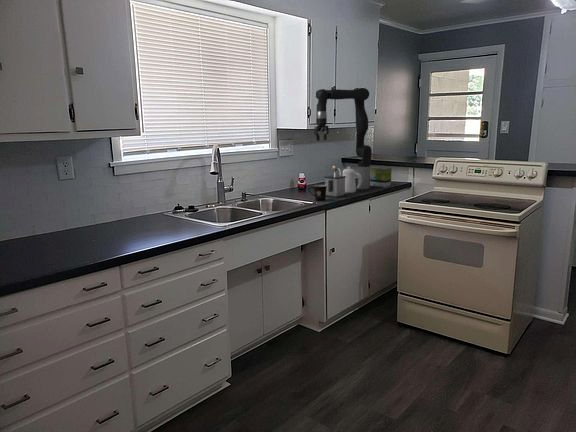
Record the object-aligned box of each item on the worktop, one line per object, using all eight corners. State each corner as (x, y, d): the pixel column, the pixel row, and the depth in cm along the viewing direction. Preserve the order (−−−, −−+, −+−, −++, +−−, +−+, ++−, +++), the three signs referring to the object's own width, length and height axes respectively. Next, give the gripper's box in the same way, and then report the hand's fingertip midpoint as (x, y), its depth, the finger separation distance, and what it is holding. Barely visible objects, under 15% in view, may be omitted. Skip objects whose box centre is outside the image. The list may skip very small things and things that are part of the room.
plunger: (333, 192, 314) (333, 165, 309) (342, 193, 309) (342, 165, 304) (327, 193, 308) (327, 166, 304) (336, 194, 303) (336, 166, 299)
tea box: (368, 185, 354) (368, 167, 351) (374, 184, 361) (375, 166, 358) (385, 187, 344) (385, 168, 341) (391, 185, 352) (392, 167, 348)
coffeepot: (340, 189, 339) (340, 165, 335) (365, 192, 320) (366, 167, 316) (330, 190, 332) (330, 166, 328) (356, 194, 313) (356, 168, 309)
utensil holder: (333, 194, 316) (333, 175, 313) (345, 195, 309) (345, 176, 306) (323, 196, 307) (323, 176, 304) (335, 198, 300) (335, 178, 297)
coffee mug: (329, 200, 294) (329, 185, 292) (320, 202, 288) (320, 187, 286) (316, 198, 302) (316, 183, 300) (307, 200, 296) (307, 185, 294)
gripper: (319, 117, 310) (319, 141, 314) (331, 117, 321) (331, 140, 324) (311, 118, 315) (311, 140, 319) (323, 117, 326) (323, 139, 329)
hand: (321, 140), depth 322 cm, fingers open, 8 cm apart
